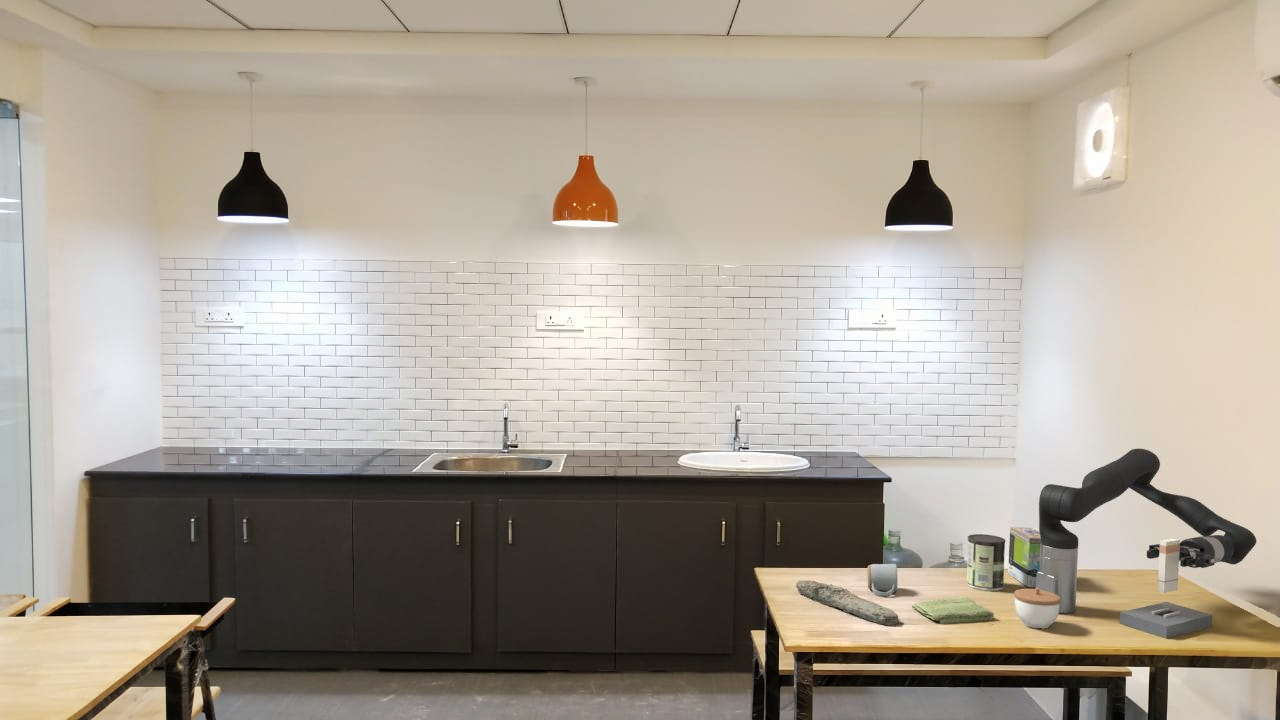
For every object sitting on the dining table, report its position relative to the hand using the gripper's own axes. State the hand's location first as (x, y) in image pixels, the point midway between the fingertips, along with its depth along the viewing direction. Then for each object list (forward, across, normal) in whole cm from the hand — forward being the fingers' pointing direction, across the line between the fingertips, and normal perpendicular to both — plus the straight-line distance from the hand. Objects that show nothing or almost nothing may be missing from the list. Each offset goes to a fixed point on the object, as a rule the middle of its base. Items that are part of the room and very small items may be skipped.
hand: (1164, 558), depth 233 cm
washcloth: (+42, +30, -18) cm, 55 cm away
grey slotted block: (-2, 0, -18) cm, 18 cm away
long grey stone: (+63, +48, -18) cm, 81 cm away
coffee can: (+12, +45, -18) cm, 50 cm away
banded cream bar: (-2, 0, -10) cm, 10 cm away
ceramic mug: (+44, +54, -18) cm, 71 cm away
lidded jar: (+29, +15, -18) cm, 37 cm away
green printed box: (-5, +42, -18) cm, 46 cm away
